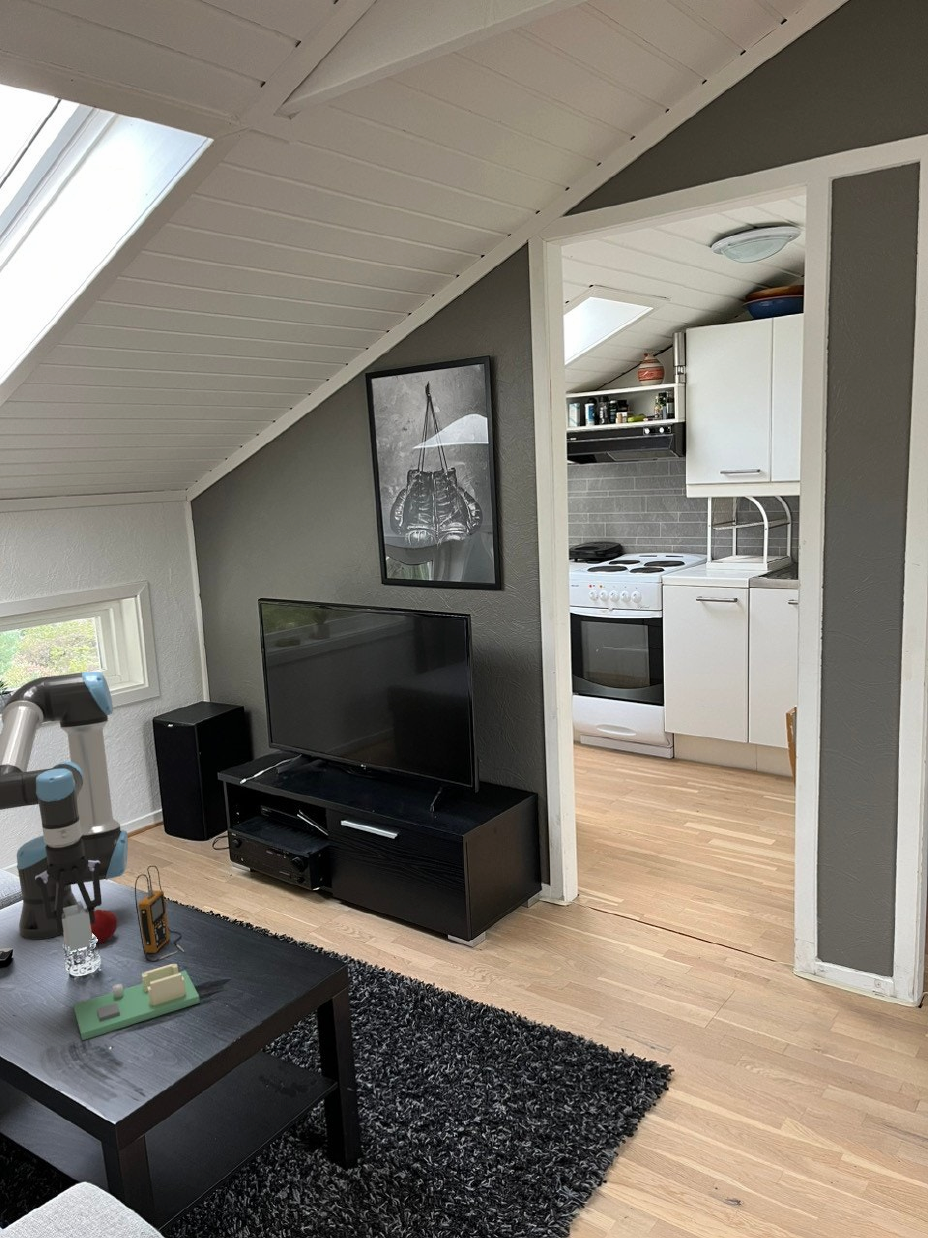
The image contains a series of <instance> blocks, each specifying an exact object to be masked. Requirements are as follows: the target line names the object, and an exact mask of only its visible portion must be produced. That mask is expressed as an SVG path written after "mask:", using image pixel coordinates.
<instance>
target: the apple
mask: <svg viewBox="0 0 928 1238" xmlns="http://www.w3.org/2000/svg"><path fill="white" fill-rule="evenodd" d="M94 915H95V923H93V924H90V925H91V932H92V933H93V934H94V935H95V936H96V937H97V939H98V943H97V944H101V943H106V942H107V941H109V940H110V939H111V938H112V937H113V935H114V934H115V933H116V931H117V928H118V917H117V916H116V914H115V913H114V912H113V911H110V910H105V909H94Z"/></svg>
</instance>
